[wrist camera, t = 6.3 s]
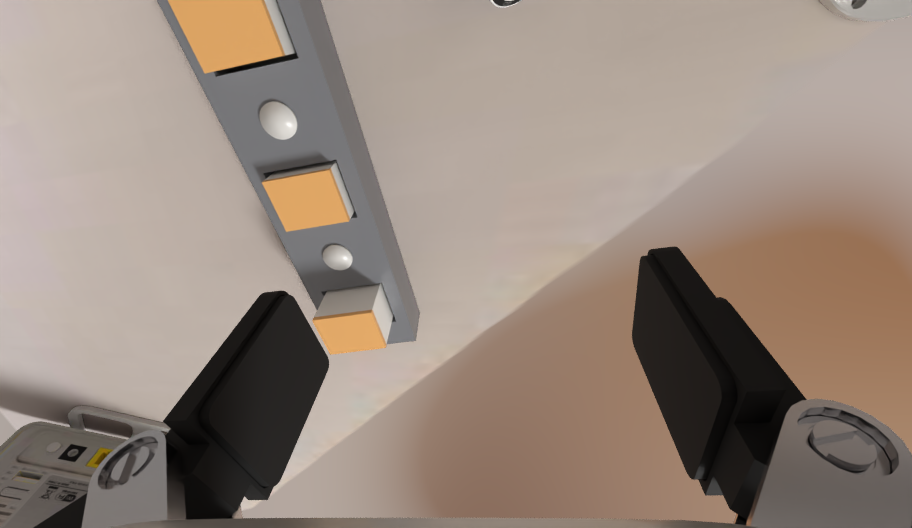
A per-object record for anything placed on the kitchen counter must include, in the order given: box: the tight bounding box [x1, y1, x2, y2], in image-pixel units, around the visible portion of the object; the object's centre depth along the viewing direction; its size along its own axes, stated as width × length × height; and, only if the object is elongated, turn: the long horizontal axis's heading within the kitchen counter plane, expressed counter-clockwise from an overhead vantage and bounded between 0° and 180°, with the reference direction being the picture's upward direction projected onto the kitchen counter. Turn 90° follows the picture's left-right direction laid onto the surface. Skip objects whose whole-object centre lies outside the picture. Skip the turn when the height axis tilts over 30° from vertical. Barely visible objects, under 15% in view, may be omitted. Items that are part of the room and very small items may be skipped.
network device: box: [0, 406, 171, 528], centre depth 45 cm, size 26×9×20 cm, turn 67°
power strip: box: [157, 0, 420, 344], centre depth 30 cm, size 8×32×4 cm, turn 11°
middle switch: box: [262, 160, 355, 232], centre depth 29 cm, size 5×4×4 cm
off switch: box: [312, 283, 394, 355], centre depth 33 cm, size 5×4×4 cm
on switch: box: [168, 0, 297, 73], centre depth 23 cm, size 5×4×4 cm
